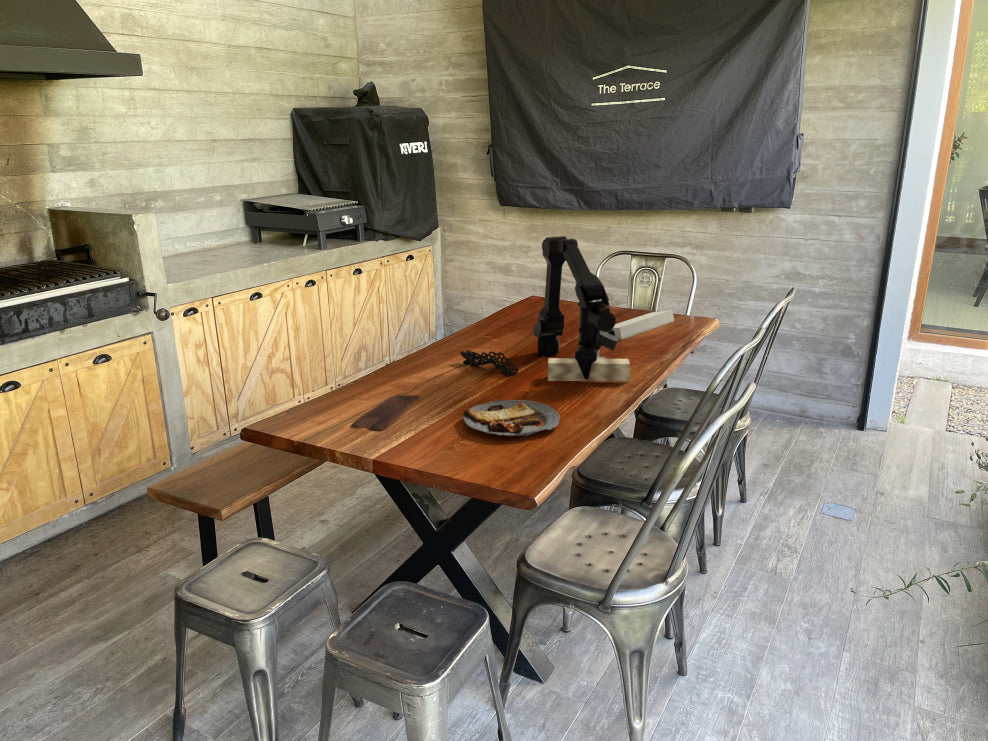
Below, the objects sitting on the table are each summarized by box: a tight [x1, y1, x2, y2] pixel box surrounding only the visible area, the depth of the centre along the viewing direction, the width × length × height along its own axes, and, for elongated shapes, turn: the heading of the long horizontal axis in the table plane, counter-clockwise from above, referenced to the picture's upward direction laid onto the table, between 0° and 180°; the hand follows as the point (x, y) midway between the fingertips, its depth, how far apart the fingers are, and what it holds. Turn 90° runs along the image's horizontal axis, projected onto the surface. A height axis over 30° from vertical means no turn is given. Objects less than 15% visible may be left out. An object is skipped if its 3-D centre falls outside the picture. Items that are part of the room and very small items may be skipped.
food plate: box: [461, 399, 561, 437], centre depth 193 cm, size 25×23×4 cm
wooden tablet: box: [350, 394, 421, 432], centre depth 202 cm, size 26×2×10 cm
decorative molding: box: [606, 309, 675, 341], centre depth 280 cm, size 34×5×10 cm
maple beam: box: [547, 357, 631, 382], centre depth 224 cm, size 24×5×6 cm, turn 85°
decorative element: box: [460, 349, 520, 377], centre depth 236 cm, size 22×5×6 cm, turn 50°
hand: (588, 374), depth 225 cm, fingers open, 9 cm apart
